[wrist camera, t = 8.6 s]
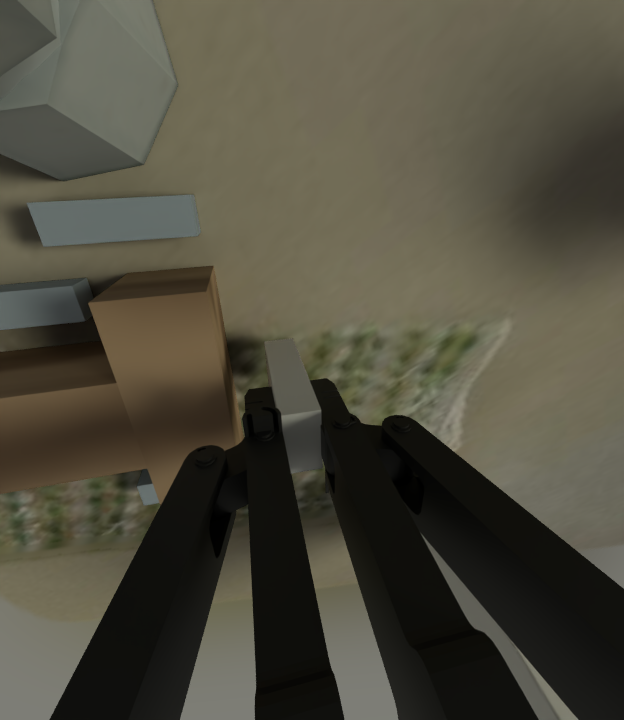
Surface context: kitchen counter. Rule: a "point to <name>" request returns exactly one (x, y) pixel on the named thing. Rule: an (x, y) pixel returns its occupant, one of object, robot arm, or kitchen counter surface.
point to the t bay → (88, 226)
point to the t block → (123, 388)
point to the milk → (506, 650)
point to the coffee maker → (82, 84)
